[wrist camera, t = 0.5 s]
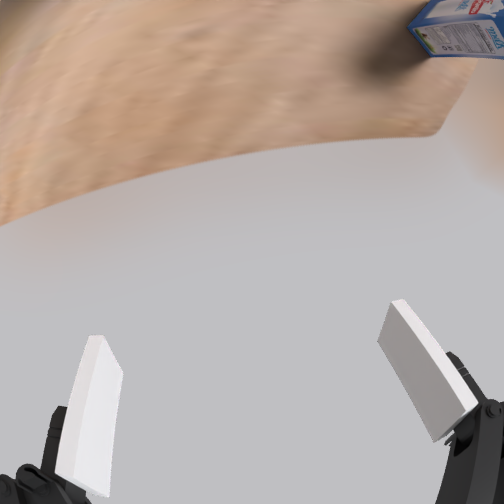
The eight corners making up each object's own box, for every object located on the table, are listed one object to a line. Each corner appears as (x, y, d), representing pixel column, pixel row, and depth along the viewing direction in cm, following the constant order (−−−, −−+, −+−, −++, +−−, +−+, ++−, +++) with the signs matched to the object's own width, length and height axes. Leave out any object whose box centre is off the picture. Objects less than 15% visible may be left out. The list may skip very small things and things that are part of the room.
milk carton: (430, 57, 30) (535, 64, 12) (406, 27, 27) (512, 16, 10) (452, 28, 26) (546, 29, 9) (430, -1, 24) (525, -13, 7)
